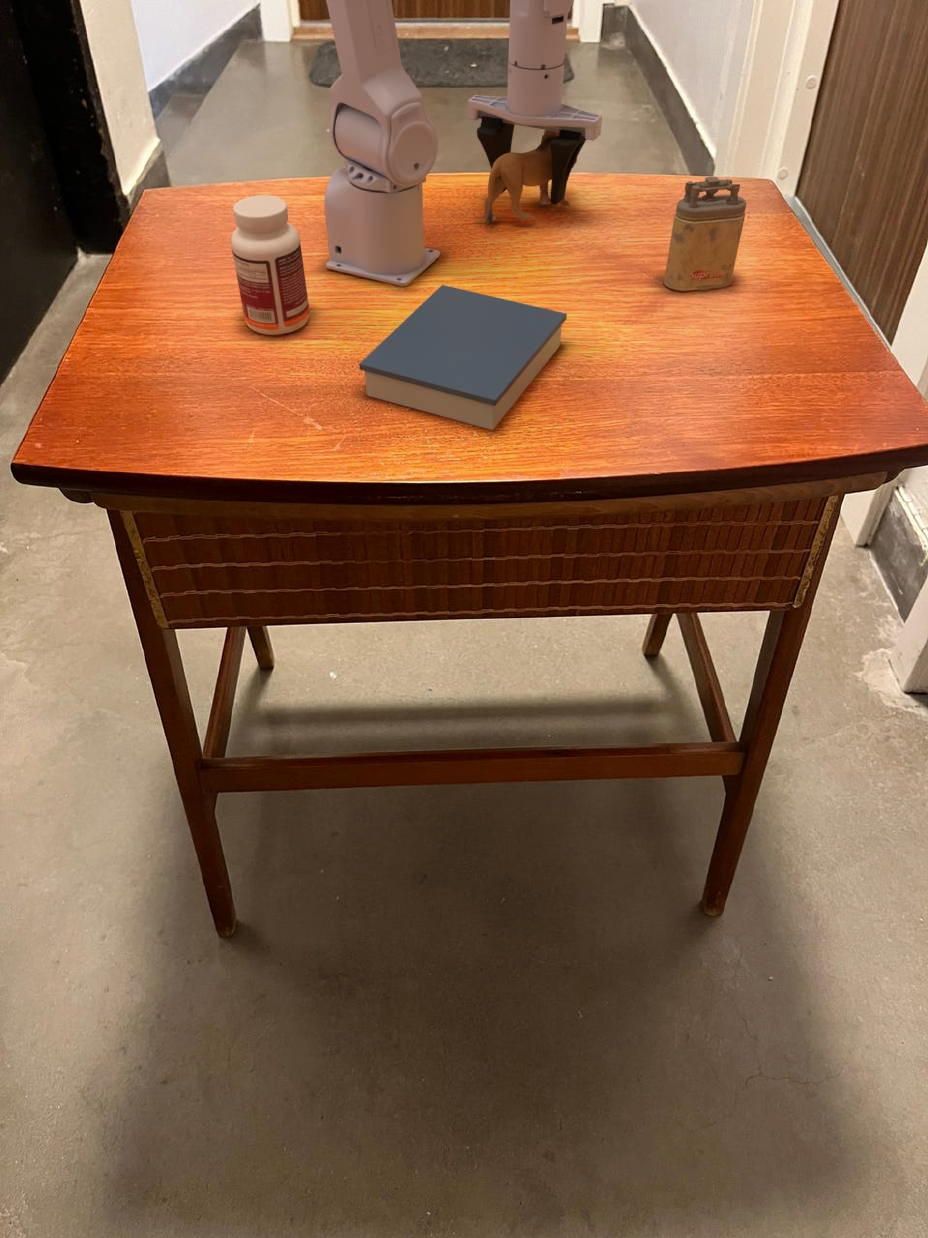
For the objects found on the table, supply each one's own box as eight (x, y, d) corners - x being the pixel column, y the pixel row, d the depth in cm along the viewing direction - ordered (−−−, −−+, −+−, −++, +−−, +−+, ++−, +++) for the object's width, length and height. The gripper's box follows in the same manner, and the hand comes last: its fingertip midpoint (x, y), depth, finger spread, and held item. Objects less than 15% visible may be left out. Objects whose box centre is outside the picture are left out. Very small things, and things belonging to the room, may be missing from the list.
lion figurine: (557, 192, 116) (554, 107, 110) (593, 197, 112) (591, 110, 107) (470, 227, 108) (461, 138, 103) (505, 233, 105) (498, 142, 99)
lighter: (723, 271, 101) (743, 171, 94) (738, 288, 98) (760, 187, 91) (658, 277, 100) (673, 177, 93) (671, 295, 97) (687, 193, 90)
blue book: (361, 396, 85) (358, 363, 82) (442, 315, 94) (442, 284, 92) (494, 433, 81) (495, 400, 78) (564, 345, 91) (567, 313, 88)
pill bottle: (301, 300, 96) (287, 186, 89) (317, 330, 92) (303, 214, 84) (239, 311, 95) (218, 196, 87) (252, 342, 91) (231, 224, 83)
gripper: (617, 59, 100) (603, 193, 110) (488, 40, 104) (485, 171, 114) (592, 80, 96) (580, 218, 105) (459, 59, 100) (459, 193, 110)
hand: (529, 195), depth 109 cm, fingers closed on lion figurine, 6 cm apart
